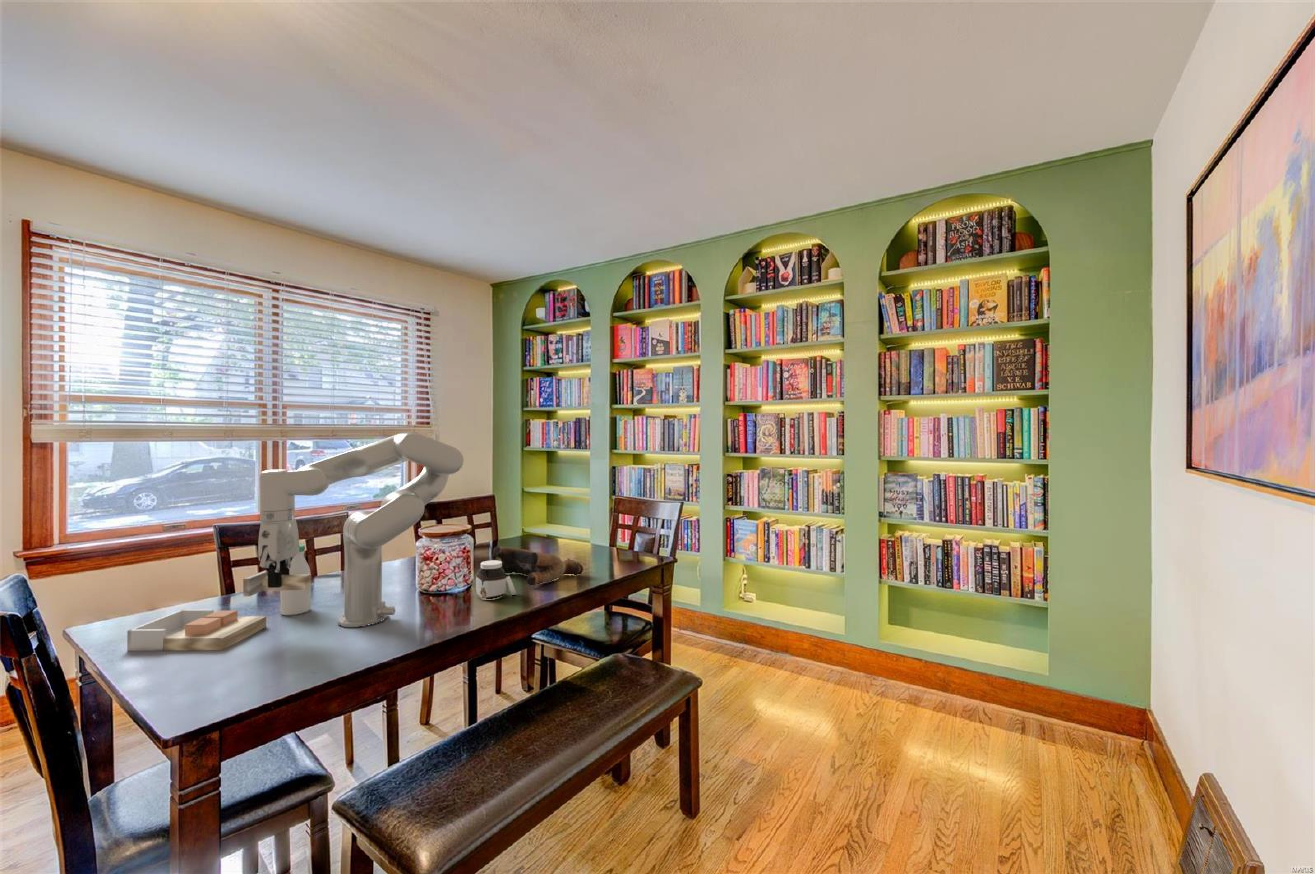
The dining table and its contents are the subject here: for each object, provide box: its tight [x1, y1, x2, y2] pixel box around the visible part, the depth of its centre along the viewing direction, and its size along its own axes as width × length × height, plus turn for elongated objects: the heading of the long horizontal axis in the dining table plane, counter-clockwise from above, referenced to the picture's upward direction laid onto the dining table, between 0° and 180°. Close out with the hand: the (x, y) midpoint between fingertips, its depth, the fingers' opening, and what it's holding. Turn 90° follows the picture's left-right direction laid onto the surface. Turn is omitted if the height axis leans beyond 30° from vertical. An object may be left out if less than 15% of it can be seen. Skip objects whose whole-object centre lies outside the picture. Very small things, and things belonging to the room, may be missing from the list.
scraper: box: [242, 569, 312, 597], centre depth 143 cm, size 12×12×4 cm
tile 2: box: [204, 609, 239, 626], centre depth 145 cm, size 5×5×2 cm
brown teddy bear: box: [492, 545, 585, 586], centre depth 205 cm, size 13×31×25 cm
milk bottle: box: [279, 544, 312, 616], centre depth 163 cm, size 8×8×20 cm
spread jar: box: [475, 559, 517, 599], centre depth 179 cm, size 12×11×12 cm
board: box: [163, 615, 267, 652], centre depth 142 cm, size 14×16×3 cm
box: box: [126, 609, 215, 652], centre depth 141 cm, size 8×16×5 cm, turn 2°
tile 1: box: [185, 618, 221, 635], centre depth 139 cm, size 5×5×2 cm
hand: (278, 584), depth 143 cm, fingers closed on scraper, 2 cm apart
